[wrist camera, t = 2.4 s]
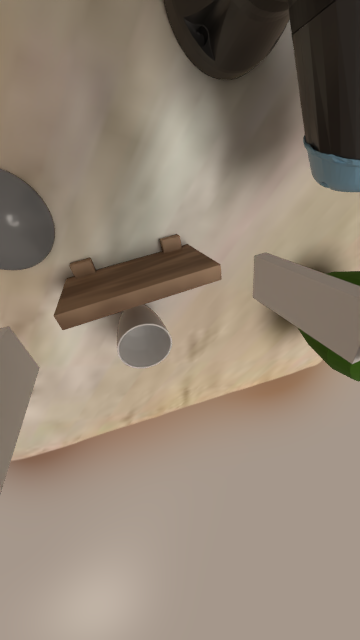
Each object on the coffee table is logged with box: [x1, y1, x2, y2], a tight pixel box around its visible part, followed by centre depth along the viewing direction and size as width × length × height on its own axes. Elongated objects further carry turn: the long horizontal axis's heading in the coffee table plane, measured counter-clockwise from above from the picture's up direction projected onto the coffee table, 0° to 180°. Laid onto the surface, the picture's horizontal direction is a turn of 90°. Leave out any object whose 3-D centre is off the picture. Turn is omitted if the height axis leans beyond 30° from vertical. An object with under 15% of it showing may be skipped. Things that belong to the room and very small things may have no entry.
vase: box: [298, 271, 360, 381], centre depth 42 cm, size 20×20×24 cm
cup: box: [117, 305, 172, 368], centre depth 36 cm, size 8×8×10 cm
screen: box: [54, 234, 221, 330], centre depth 30 cm, size 6×20×12 cm, turn 102°
